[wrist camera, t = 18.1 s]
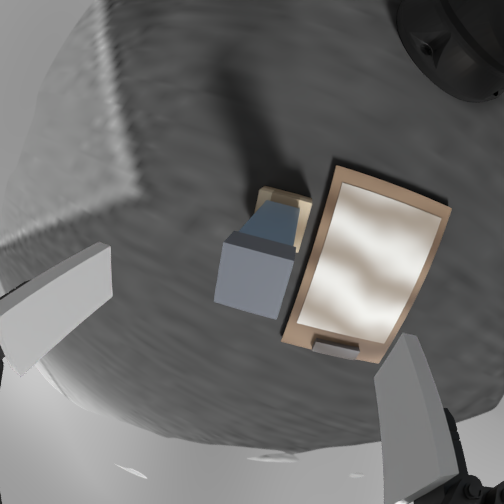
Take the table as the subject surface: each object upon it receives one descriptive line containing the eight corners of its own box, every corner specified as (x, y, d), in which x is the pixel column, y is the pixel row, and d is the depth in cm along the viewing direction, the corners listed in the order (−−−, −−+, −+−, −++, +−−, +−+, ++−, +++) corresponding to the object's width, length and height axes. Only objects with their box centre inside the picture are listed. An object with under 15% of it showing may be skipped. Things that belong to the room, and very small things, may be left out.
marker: (267, 195, 27) (223, 242, 13) (302, 204, 26) (293, 261, 13) (260, 228, 28) (213, 301, 15) (293, 237, 28) (276, 319, 14)
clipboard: (335, 164, 26) (337, 165, 24) (449, 207, 24) (455, 210, 23) (281, 338, 34) (280, 345, 33) (377, 360, 33) (379, 367, 31)
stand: (264, 185, 28) (259, 189, 25) (311, 198, 27) (312, 203, 25) (254, 230, 30) (248, 238, 27) (299, 242, 29) (298, 252, 26)
